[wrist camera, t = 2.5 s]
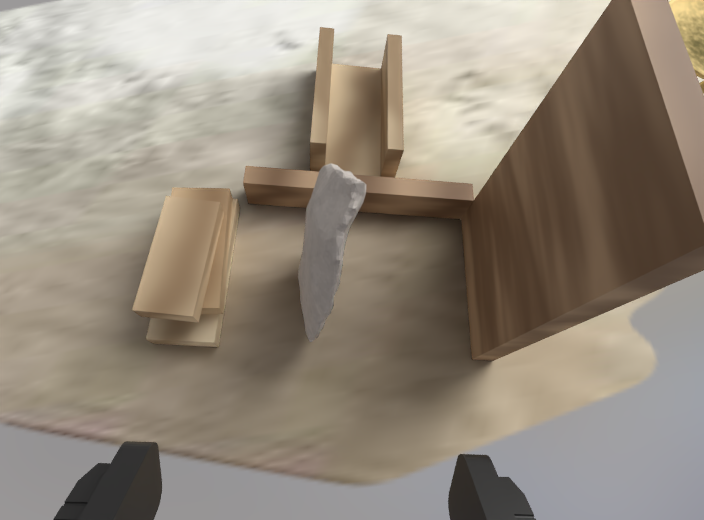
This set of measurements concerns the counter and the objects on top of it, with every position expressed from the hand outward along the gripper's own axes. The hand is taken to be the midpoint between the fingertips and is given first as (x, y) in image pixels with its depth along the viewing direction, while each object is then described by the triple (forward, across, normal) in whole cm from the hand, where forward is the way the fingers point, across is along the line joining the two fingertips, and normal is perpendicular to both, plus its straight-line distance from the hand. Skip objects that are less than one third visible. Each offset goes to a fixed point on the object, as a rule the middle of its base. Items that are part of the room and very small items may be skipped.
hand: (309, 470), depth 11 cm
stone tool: (+20, 0, +5) cm, 21 cm away
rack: (+22, -3, +3) cm, 22 cm away
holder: (+32, -2, -7) cm, 32 cm away
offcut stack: (+21, +9, +4) cm, 23 cm away
